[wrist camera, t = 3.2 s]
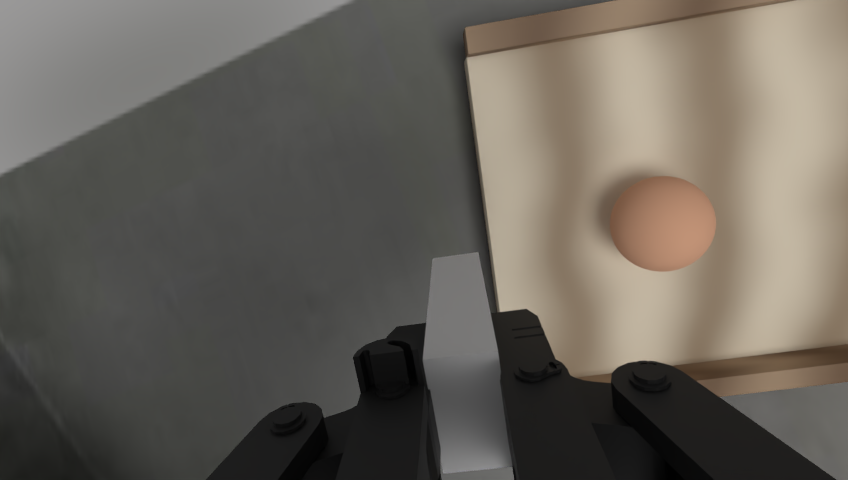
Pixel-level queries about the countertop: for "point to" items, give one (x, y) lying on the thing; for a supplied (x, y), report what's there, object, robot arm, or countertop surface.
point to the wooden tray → (677, 157)
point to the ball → (662, 223)
